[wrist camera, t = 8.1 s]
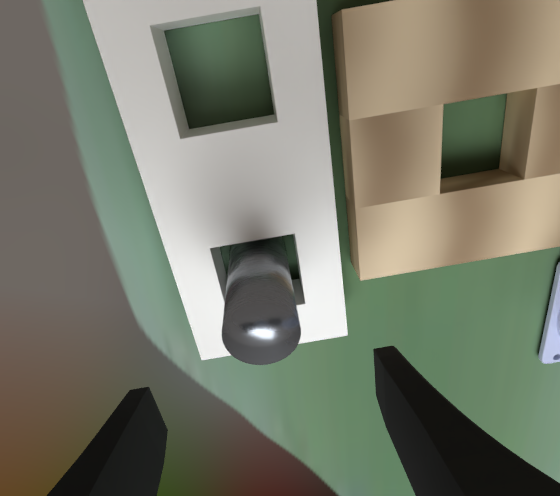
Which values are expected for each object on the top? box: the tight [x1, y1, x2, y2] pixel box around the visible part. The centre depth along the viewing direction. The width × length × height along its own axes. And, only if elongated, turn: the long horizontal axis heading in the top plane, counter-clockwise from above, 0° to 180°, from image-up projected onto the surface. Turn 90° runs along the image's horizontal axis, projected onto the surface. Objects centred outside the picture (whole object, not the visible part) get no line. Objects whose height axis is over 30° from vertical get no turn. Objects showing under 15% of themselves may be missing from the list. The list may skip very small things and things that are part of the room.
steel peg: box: [222, 236, 301, 365], centre depth 17 cm, size 3×3×7 cm
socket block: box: [331, 0, 560, 281], centre depth 18 cm, size 12×12×2 cm
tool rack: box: [83, 0, 348, 360], centre depth 17 cm, size 8×18×2 cm, turn 9°
